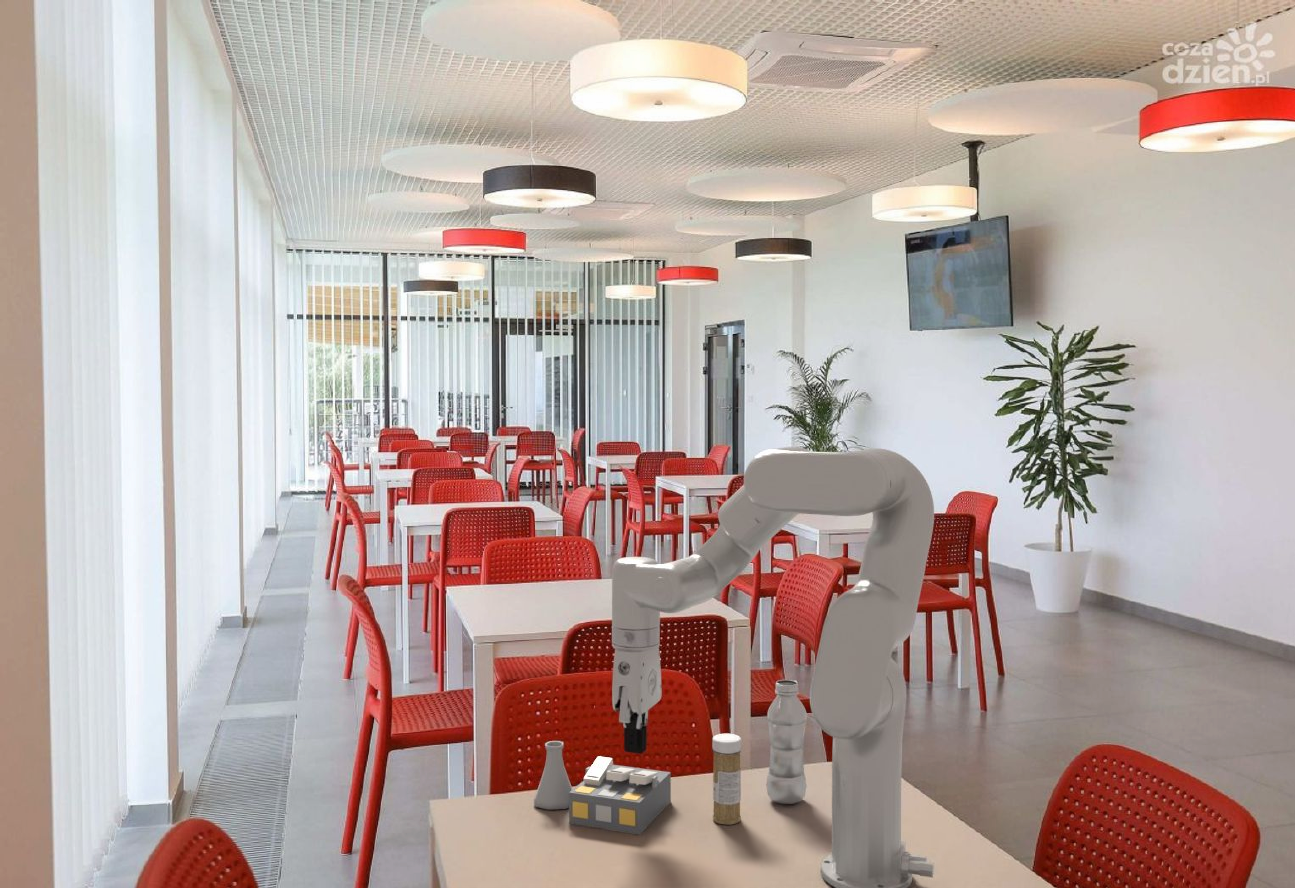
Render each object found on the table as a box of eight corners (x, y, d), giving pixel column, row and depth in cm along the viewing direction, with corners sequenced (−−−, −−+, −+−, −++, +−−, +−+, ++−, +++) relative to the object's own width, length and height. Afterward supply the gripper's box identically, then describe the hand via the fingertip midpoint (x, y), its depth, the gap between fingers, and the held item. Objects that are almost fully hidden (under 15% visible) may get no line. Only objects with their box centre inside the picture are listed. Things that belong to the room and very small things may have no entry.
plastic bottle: (759, 798, 176) (758, 680, 175) (793, 791, 179) (793, 675, 178) (779, 811, 170) (779, 690, 169) (814, 804, 173) (814, 685, 172)
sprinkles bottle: (715, 813, 169) (714, 731, 169) (743, 815, 168) (743, 733, 168) (710, 824, 165) (710, 740, 164) (739, 827, 164) (739, 742, 163)
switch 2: (635, 776, 172) (635, 768, 172) (621, 781, 166) (621, 772, 167) (620, 774, 173) (621, 766, 173) (606, 779, 167) (606, 770, 168)
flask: (569, 812, 170) (569, 752, 170) (527, 809, 172) (526, 749, 171) (581, 796, 177) (581, 738, 177) (540, 793, 179) (540, 735, 178)
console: (671, 801, 174) (670, 762, 174) (639, 835, 161) (639, 792, 161) (604, 792, 179) (604, 754, 178) (568, 823, 165) (568, 782, 165)
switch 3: (657, 779, 170) (658, 771, 171) (644, 784, 165) (645, 775, 165) (642, 777, 171) (643, 769, 172) (629, 782, 166) (629, 773, 166)
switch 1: (613, 764, 174) (612, 757, 173) (599, 786, 168) (598, 779, 168) (598, 762, 174) (597, 755, 174) (584, 784, 169) (583, 777, 169)
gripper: (640, 649, 156) (639, 770, 157) (674, 628, 170) (673, 739, 171) (594, 644, 159) (594, 763, 160) (631, 624, 173) (631, 734, 174)
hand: (635, 750), depth 165 cm, fingers closed
